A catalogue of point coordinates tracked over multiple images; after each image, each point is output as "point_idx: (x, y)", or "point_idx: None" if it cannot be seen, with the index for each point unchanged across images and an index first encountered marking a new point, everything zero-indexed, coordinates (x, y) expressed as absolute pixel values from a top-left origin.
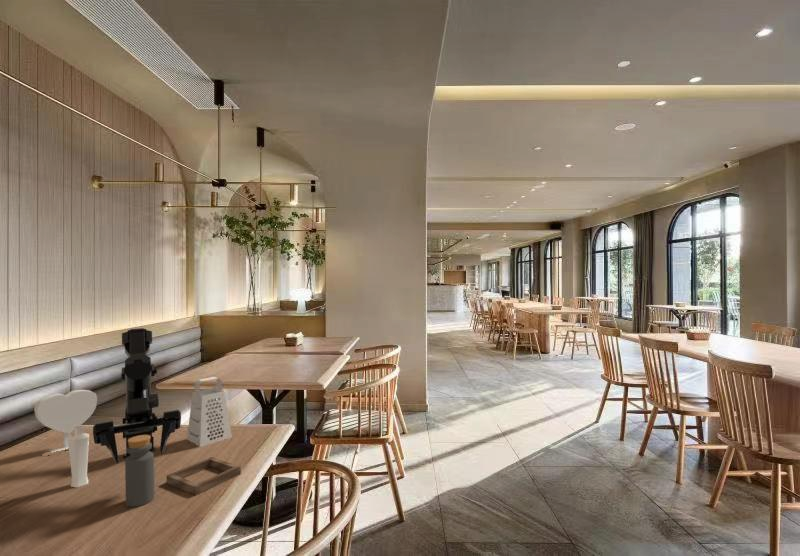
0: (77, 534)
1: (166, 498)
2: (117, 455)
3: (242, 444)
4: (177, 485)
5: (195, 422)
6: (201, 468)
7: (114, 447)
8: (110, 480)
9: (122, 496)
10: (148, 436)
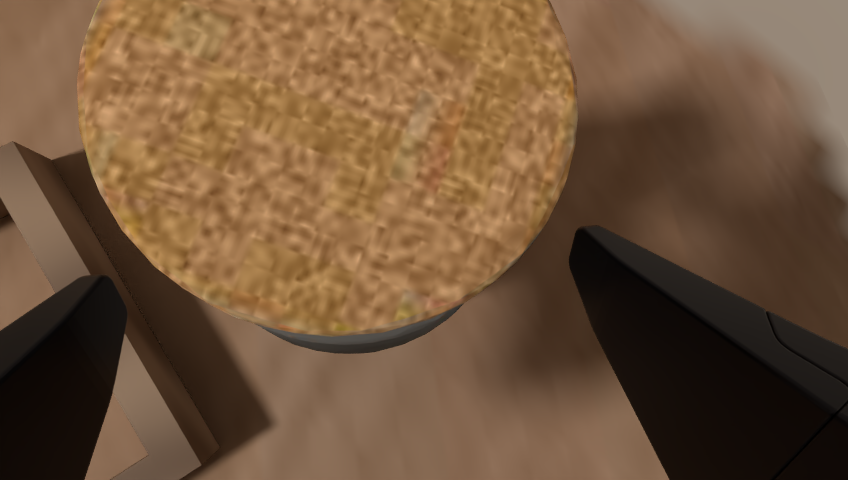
0: (582, 56)
1: None
2: (613, 251)
3: None
4: (145, 333)
5: None
6: None
7: (728, 315)
8: None
9: (464, 373)
10: (125, 80)
